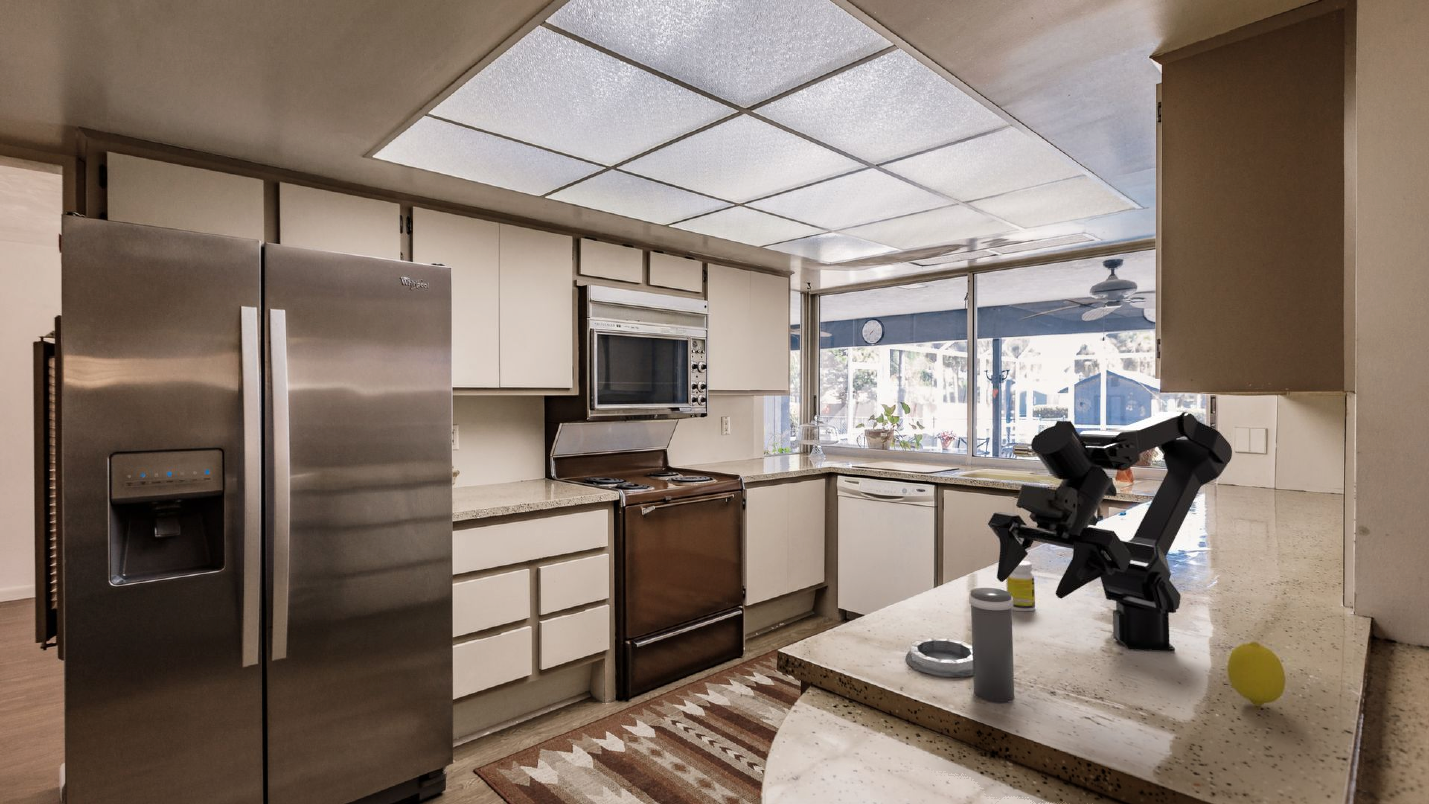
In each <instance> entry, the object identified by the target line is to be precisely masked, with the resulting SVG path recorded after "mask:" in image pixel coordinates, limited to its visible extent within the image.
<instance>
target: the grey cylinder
mask: <svg viewBox="0 0 1429 804" xmlns="http://www.w3.org/2000/svg"><path fill="white" fill-rule="evenodd" d="M968 602H969V604H970V613H971V614H970V615H971V616H970V618H971V619H970V620H971V622H970V623H971V646H972V655H973V676H972V680H973V682H972V683H973V694H974V695H975V696H976V697H977V698H978V699H980V700H983V701H985V702H990V703H994V704H1007V703H1010V702H1012V701H1014V700H1015V675H1014V673H1015V670H1014V668H1015V667H1014V644H1013V643H1014V641H1013V637H1014V636H1013V609H1012V607H1013V597H1012V596H1011V594H1010V593H1009V592H1007V590H1003V589H1001V588H994V587H977V588H973V589H971V590H970V592H969V593H968Z"/></svg>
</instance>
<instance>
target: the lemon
mask: <svg viewBox="0 0 1429 804" xmlns="http://www.w3.org/2000/svg"><path fill="white" fill-rule="evenodd" d="M1227 662H1228V663H1227V676H1228V679H1229V681H1230V684H1231V686H1232V687H1233V689H1234V690H1235V692H1236V693H1238V694H1239V695H1240V696H1241V697H1243V698H1244V699H1246V700H1248V701H1250V703H1251V704H1252V705H1254V706H1255V707H1261V706H1262V705H1264V704H1270V703H1273V702H1275V701H1277V700H1279V698H1280V697H1281V696H1282V694H1283V693H1284V691H1285V686H1286V675H1285V670H1284V667H1283V665H1282V664H1283V663H1282V662H1281V661H1280V659H1279V657H1278V656H1277V655H1276V654H1275V653H1274V652H1273V651H1272V650H1271V649H1269V648H1268V647H1265V646H1263V645H1261V644H1260V643H1259V641H1258V642H1257V641H1250V642H1249V643H1243V644H1241V645H1239V646H1238V645H1237V647H1235V648H1233V650H1232V651H1231V653H1230V655H1229V659H1228V661H1227Z"/></svg>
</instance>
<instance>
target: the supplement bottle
mask: <svg viewBox="0 0 1429 804" xmlns="http://www.w3.org/2000/svg"><path fill="white" fill-rule="evenodd" d="M1032 571H1033V566H1032V562H1030V561H1028V560H1024V559H1023V560H1022V561H1021V563H1020V564H1019V565H1018V566H1017V567H1016V569H1015V570H1014V571H1013V572H1012V573H1011V574H1010V576H1009V577H1008V578H1007V579H1005V584H1006V585H1005V586H1006V591H1007V592H1009V593H1010V594H1011V596H1012V597H1013V607H1012V611H1018V612H1033V611H1034V610H1035V609H1036V591H1035V575H1034V573H1032Z"/></svg>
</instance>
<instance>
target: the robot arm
mask: <svg viewBox="0 0 1429 804" xmlns="http://www.w3.org/2000/svg"><path fill="white" fill-rule="evenodd" d="M1030 447H1031V450H1032V451H1033V452H1034V453H1035V456H1037V457H1038V459H1039V460H1040V462H1042V464H1043V465H1044V467H1045V468H1046V470H1048V472H1049V473H1050V474H1051V476H1052V477H1053V478H1054V479H1057V480H1061V482H1060V484H1059V485H1058V486H1057V488H1056V489H1054V488H1049V487H1044V486H1037V485H1036V486H1035V485H1028V484H1026V485H1025V484H1022V485H1021V486H1020V490H1019V493H1018V496H1017V500H1016V504H1015V507H1016V508H1019V509H1023V510H1025V511H1027V512H1029V513H1030V514H1029V516H1028V517H1029V519H1030V520H1031V521H1032V522H1034V523H1036V526H1031V525H1027V524H1026V522H1025V521H1024V519H1022V517H1021V516H1020V515H1019V514H1015V513H1014V514H1013V513H1008V512H1002V511H998V512H994V513H993V514H992V516H991V517H990V519H989V521H988V523H987V525H988V526H989V528H990V529H991V530H992V531H993V533H994V535H996V536H997V539H999V556H998V565H997V573H996V578H997V580H998V581H999V582H1001V583H1003V582H1005V581H1006V579H1007V578H1008V577H1009V576H1010V574H1011V573H1012V572H1013V571H1014V570H1015V569H1016V567H1017V566H1018V565H1019V564H1020V563H1021V561H1022V560H1023V561H1024V559H1025V558H1026V557H1027V556H1028V555H1029V553H1028V551H1027V549H1029V548H1031V547H1032V545H1033V543H1034V542H1038V543H1042V544H1047V545H1053V546H1055V547H1061V548H1067V549H1070V550H1072V558H1071V560H1070V561H1069V564H1068V565H1067V568H1066V570H1065V571H1064V574H1063V575H1062V576H1061V577H1062V578H1061V579H1060V581H1059V583H1058V585H1057V587H1056V591H1055V595H1056V597H1057V598H1058V599H1061V600H1062V599H1064V598H1065V597H1067V596H1068V595H1070V594H1072V593H1074V592H1075V591H1077V590H1078V589H1080V588H1082V587H1083V586H1085V585H1087V584H1089V583H1091V582H1093V581H1096V580H1097V579H1099V578H1100V581H1101V584H1102V588H1103V592H1104V596H1105V598H1106V600H1107V601H1114V602H1115V609H1113V611H1112V623H1113V624H1112V627H1113V629H1112V631H1113V632H1112V635H1113V637H1114V638H1115V639H1117V640H1118V642H1120V643H1121V645H1123V646H1124V647H1125V648H1126V649H1127V650H1135V651H1157V652H1158V651H1159V652H1175V651H1176V647H1174V646H1173V645H1172V644H1170V615H1169V614H1174V613H1177V610H1178V609H1179V608H1180V605H1181V597H1182V595H1181V594H1180V592H1179V591H1178V590H1177V588H1176V587H1175V586H1174V584H1173V583H1172V582H1171V580H1170V579H1171V576H1172V573H1171V570H1170V565H1169V562H1168V559H1167V557H1168V553H1169V551H1170V549H1171V547H1172V545H1173V543H1174V541H1175V539H1176V537H1177V535H1178V533H1179V531H1180V529H1181V527H1182V525H1183V523H1184V521H1185V519H1186V517H1187V515H1188V513H1189V511H1190V509H1191V507H1192V505H1193V503H1194V501H1195V499H1196V497H1197V495H1198V493H1199V491H1200V489H1201V487H1202V486H1204V485H1207V484H1208V483H1210V482H1212V481H1214V480H1215V479H1216V480H1217V478H1219V477H1220V476H1221V474H1222V473H1223V472H1224V470H1225V469H1226V468H1227V466H1228V463H1230V462H1231V460H1232V456H1233V450H1232V445H1231V444H1230V442H1228V440H1227V439H1226V437H1224V435H1223V434H1222V433H1221V432H1220V431H1219V430H1217V429H1215V428H1213V427H1211V426H1209V425H1206V424H1205V423H1202V422H1201V421H1199V420H1198V419H1197V418H1196V417H1195V416H1194V415H1193V414H1192V413H1188V412H1187V411H1160V412H1159V413H1155V414H1153V416H1149V417H1147V418H1145V419H1142V420H1139V421H1137V422H1134V423H1131V424H1128V425H1125V426H1122V427H1120V428H1117V429H1094V430H1092V429H1090V430H1084V431H1081V432H1080V433H1078V432H1077V430H1076V427H1075V426H1074V424H1073V422H1072V421H1071V420H1057V421H1056V423H1055V424H1054V425H1053V426H1050V427H1047V428H1045V429H1043V430H1042V431H1040V432H1039V433H1038V434H1036V435H1034V437H1033V438H1032V439H1031V444H1030ZM1155 448H1158V450H1160V451H1161V452H1162V454H1163V456H1162V458H1163V461H1164V464H1165V466H1166V467H1165V468H1166V470H1167V472H1166V473H1165V476H1164V477H1163V479H1162V481H1161V483H1160V485H1159V487H1158V489H1157V491H1156V493H1155V494H1154V496H1153V499H1152V500H1151V502H1150V504H1149V506H1148V508H1147V509H1146V512H1145V514H1144V516H1143V518H1142V520H1141V521H1140V523H1139V525H1138V527H1137V529H1136V531H1135V533H1134V535H1133V536H1132V538H1131V539H1129V540H1121V539H1120V537H1119V536H1118V535H1117V533H1116V532H1115V531H1114V530H1109V529H1106V528H1105V529H1104V528H1097V527H1096V525H1097V524H1098V522H1099V519H1098V518H1097V516H1096V515H1095V514H1096V512H1097V510H1098V508H1099V507H1100V504H1101V503H1102V501H1103V499H1104V497H1105V496H1109V497H1110V496H1111V497H1116V496H1117V494H1118V492H1117V487H1116V486H1115V485H1114V482H1113V481H1114V479H1113V477H1111V476H1109V475H1108V473H1107V472H1106V471H1107V470H1109V471H1119V472H1124V471H1127V470H1129V469H1131V468H1132V467H1133V466H1134V465H1136V464H1137V463H1138V462H1139V461H1140V460H1141V456H1140V455H1141V454H1143V453H1145V452H1147V451H1150V450H1152V449H1155ZM1105 470H1106V471H1105ZM1092 526H1094V527H1092Z"/></svg>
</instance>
